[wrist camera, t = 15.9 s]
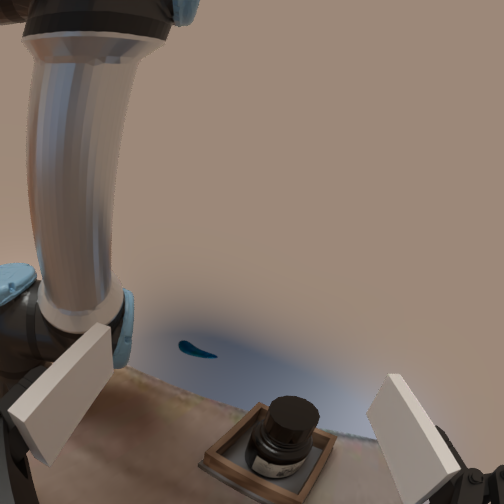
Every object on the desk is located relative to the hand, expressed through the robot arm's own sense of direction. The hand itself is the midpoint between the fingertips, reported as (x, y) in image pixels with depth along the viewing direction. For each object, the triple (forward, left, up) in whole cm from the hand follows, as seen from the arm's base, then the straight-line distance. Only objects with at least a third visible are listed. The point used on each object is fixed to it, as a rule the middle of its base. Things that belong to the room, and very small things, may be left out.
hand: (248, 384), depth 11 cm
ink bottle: (0, +18, -29) cm, 34 cm away
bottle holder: (0, +18, -30) cm, 35 cm away
